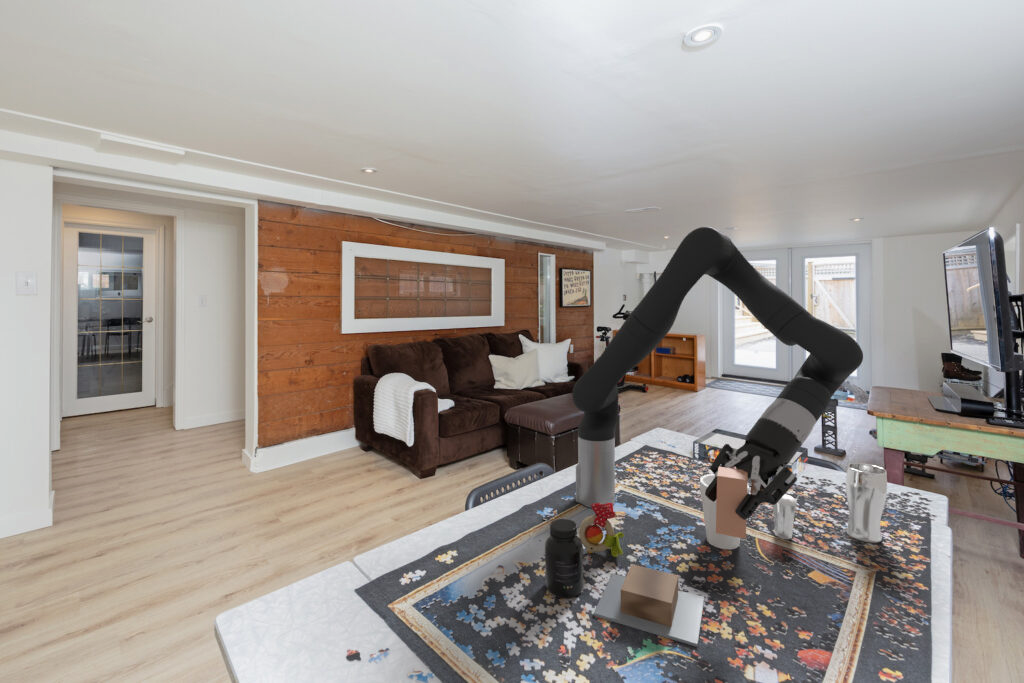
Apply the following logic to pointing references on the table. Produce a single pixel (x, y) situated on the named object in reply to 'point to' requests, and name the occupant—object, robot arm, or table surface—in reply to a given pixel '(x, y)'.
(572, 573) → the supplement bottle
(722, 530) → the tall block
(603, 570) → the table surface
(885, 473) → the beer glass
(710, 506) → the foam cup
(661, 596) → the base slab
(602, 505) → the bird rattle
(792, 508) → the milkshake
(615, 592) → the building mat
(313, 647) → the table surface
